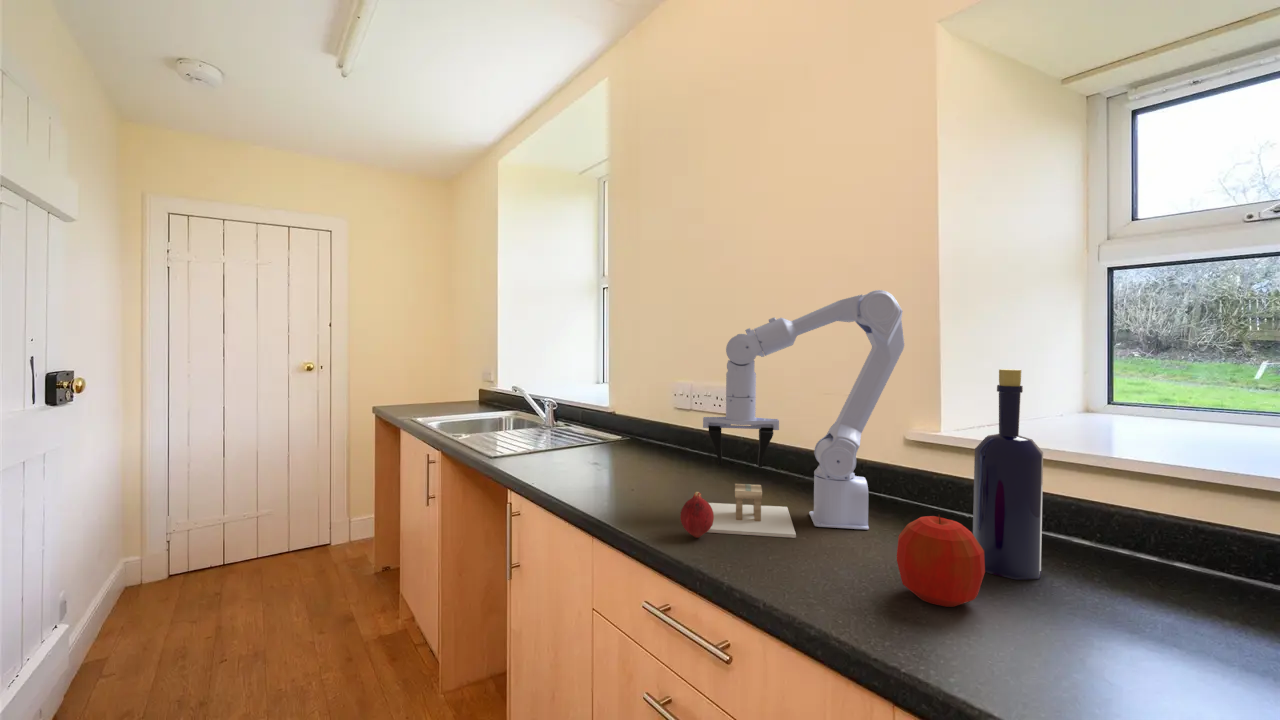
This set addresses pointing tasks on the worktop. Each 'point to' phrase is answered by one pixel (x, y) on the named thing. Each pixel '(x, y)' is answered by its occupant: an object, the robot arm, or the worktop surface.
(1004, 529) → the bottle
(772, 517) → the mat
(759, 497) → the stool
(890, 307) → the robot arm
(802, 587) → the worktop surface
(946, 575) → the apple
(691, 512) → the onion
